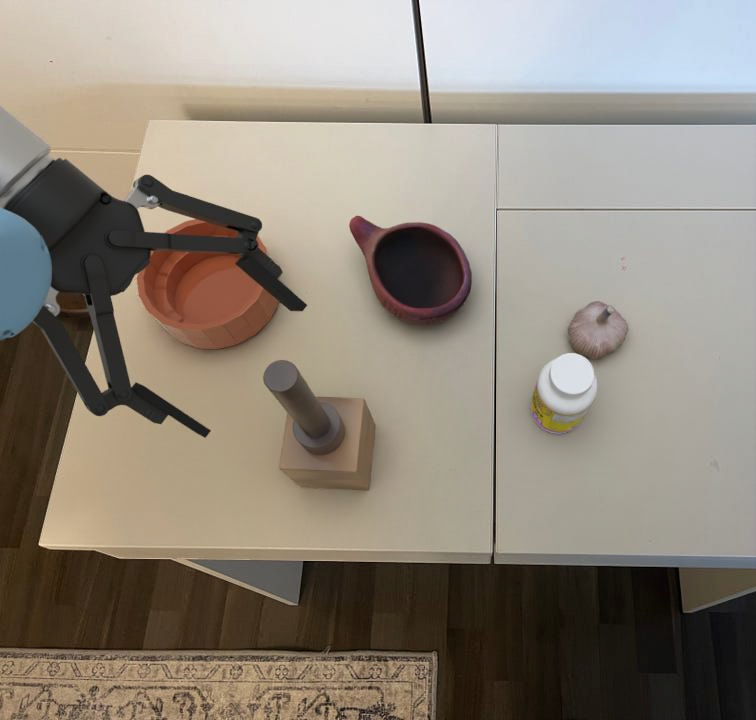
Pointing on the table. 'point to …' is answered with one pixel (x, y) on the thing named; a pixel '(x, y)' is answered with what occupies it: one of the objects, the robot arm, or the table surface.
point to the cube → (341, 465)
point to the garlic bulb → (597, 330)
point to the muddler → (305, 409)
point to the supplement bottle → (563, 393)
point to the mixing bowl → (204, 292)
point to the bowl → (414, 269)
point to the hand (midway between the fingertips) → (253, 367)
